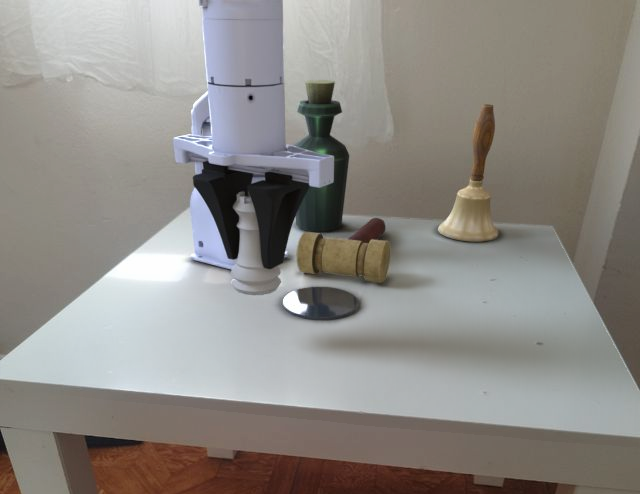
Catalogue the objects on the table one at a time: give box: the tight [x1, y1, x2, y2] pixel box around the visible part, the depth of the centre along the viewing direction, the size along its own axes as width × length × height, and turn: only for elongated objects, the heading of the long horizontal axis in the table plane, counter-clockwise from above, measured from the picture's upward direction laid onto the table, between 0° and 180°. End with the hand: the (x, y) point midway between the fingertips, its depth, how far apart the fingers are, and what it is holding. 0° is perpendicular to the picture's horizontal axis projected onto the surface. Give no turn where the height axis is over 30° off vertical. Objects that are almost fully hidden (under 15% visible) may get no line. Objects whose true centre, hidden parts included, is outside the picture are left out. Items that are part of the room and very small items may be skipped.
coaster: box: [282, 286, 359, 321], centre depth 65 cm, size 8×8×1 cm
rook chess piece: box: [230, 191, 282, 296], centre depth 52 cm, size 4×4×8 cm
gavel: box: [296, 217, 391, 284], centre depth 77 cm, size 21×5×10 cm
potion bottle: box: [292, 79, 350, 233], centre depth 83 cm, size 8×8×18 cm
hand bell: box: [437, 103, 499, 243], centre depth 81 cm, size 8×8×16 cm
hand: (255, 260), depth 53 cm, fingers closed on rook chess piece, 3 cm apart
